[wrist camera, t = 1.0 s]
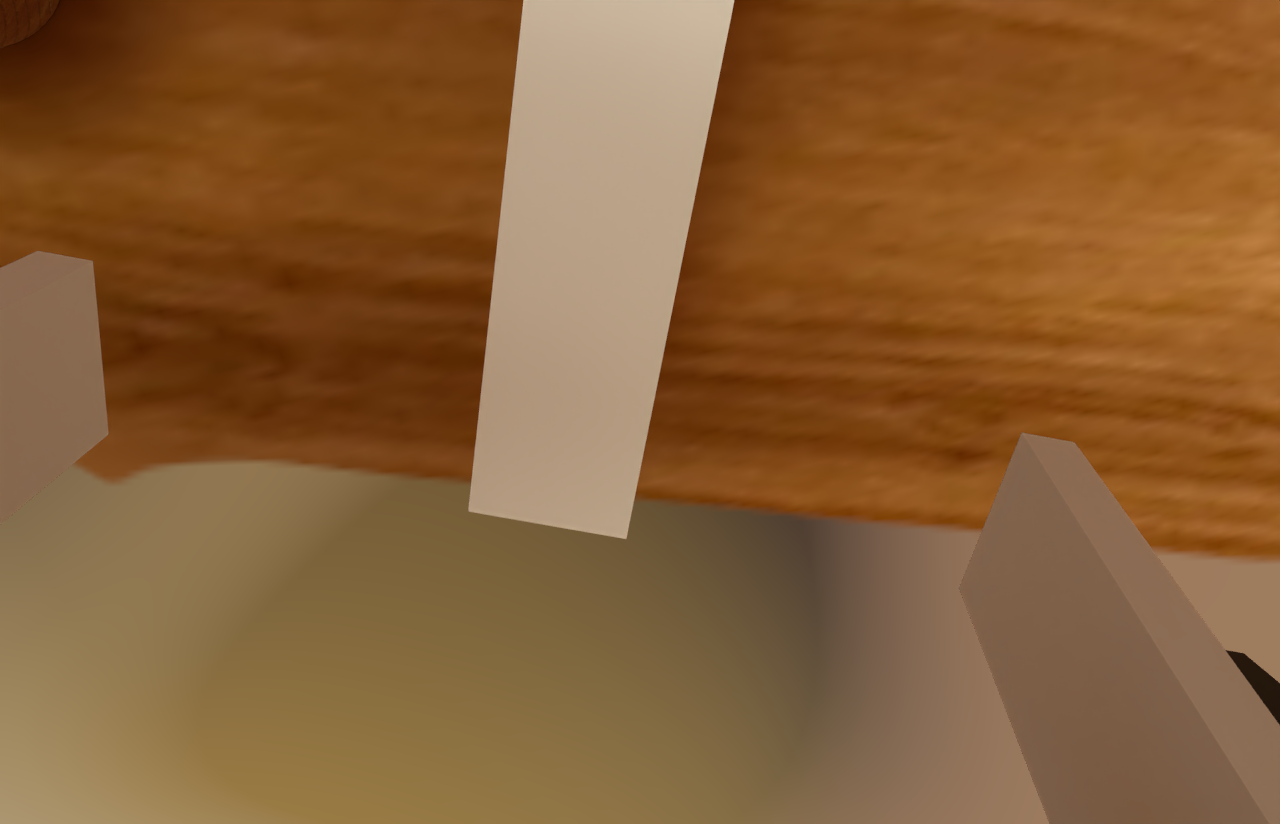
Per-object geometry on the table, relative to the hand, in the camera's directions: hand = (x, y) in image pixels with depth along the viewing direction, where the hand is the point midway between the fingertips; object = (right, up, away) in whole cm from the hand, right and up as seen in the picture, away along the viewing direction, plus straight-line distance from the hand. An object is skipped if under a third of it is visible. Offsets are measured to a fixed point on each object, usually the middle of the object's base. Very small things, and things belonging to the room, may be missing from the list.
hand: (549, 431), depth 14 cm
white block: (+1, +8, +16) cm, 18 cm away
